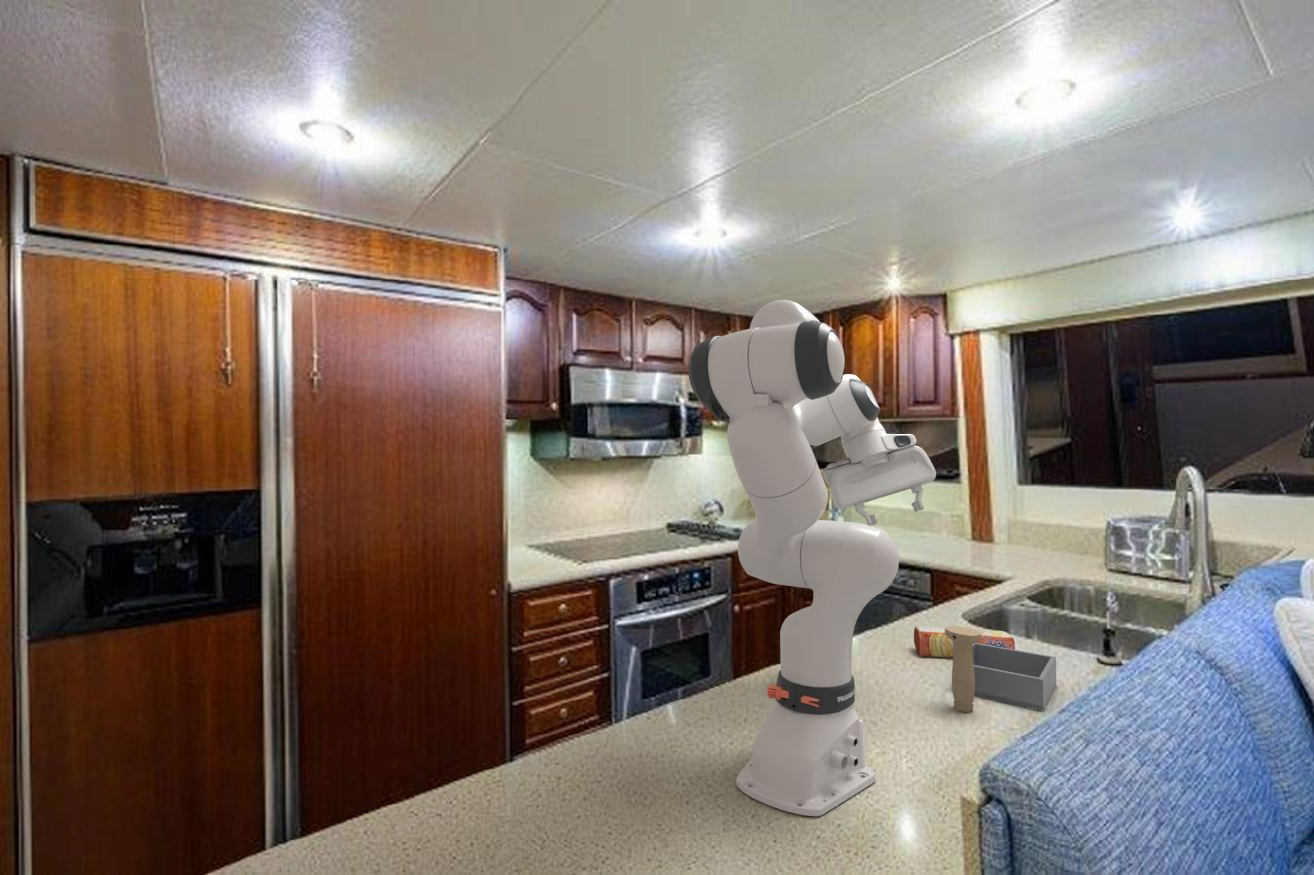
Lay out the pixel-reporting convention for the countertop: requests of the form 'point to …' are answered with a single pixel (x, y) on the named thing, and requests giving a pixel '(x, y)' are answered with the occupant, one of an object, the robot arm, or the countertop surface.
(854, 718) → the robot arm
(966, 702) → the handle
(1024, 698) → the box
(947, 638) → the snack package
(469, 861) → the countertop surface
